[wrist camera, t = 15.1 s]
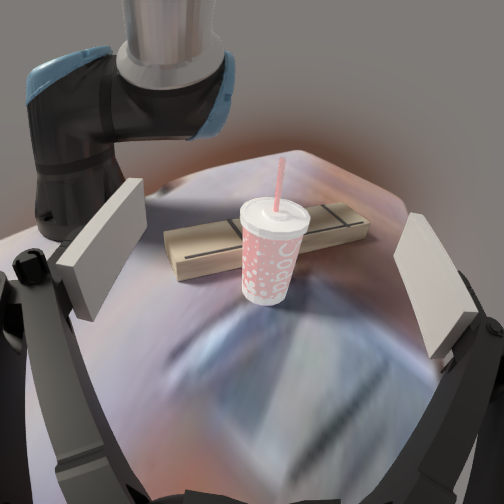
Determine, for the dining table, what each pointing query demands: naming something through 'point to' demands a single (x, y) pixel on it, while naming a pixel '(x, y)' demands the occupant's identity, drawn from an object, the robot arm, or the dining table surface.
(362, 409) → the dining table surface
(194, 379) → the dining table surface
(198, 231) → the maple strip
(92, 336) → the dining table surface
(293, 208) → the beverage cup
